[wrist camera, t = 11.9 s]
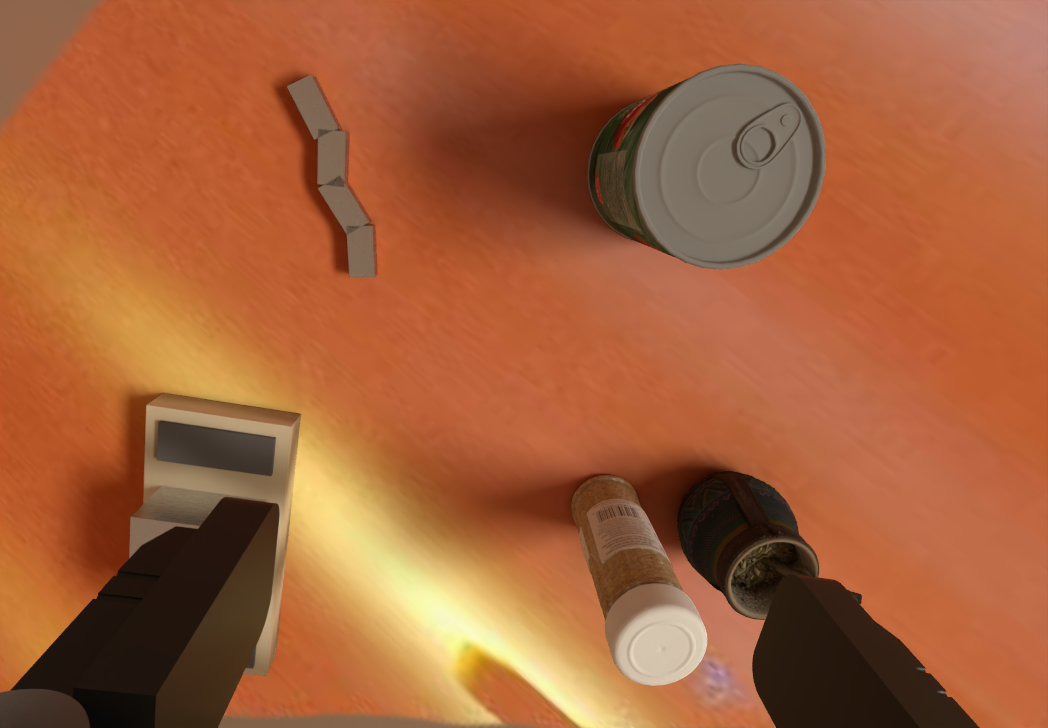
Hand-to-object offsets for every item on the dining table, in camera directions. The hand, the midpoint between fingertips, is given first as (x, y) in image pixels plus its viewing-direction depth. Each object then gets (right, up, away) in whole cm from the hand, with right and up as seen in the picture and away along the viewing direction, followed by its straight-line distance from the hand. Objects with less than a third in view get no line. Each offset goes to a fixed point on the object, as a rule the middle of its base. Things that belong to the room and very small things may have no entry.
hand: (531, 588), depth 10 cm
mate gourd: (+13, -6, +33) cm, 36 cm away
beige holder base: (-19, -7, +30) cm, 37 cm away
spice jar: (+5, -6, +32) cm, 33 cm away
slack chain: (-10, +13, +25) cm, 30 cm away
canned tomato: (+7, +14, +26) cm, 30 cm away
